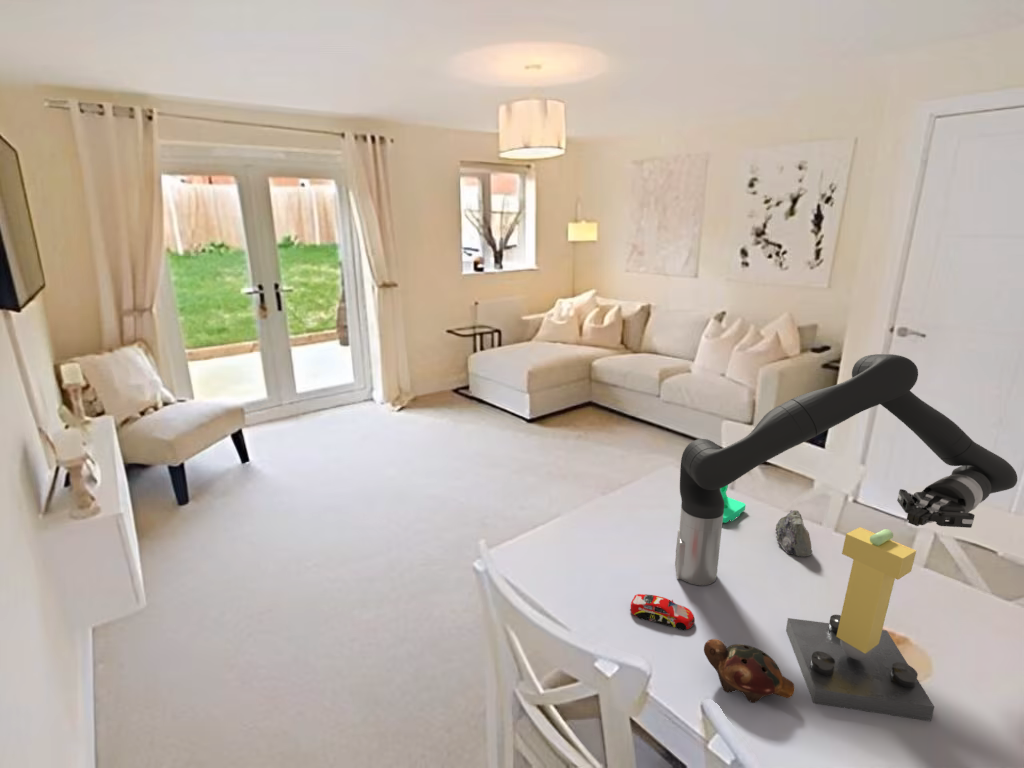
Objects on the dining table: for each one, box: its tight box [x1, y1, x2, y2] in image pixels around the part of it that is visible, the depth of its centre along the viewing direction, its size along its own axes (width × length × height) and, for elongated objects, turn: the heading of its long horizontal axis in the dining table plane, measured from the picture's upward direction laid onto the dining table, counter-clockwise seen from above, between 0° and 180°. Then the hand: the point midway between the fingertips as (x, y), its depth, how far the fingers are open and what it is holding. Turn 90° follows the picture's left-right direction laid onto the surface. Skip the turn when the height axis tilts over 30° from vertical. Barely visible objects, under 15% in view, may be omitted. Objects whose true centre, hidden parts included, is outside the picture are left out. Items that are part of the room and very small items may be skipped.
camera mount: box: [720, 484, 747, 523], centre depth 155 cm, size 12×8×10 cm, turn 131°
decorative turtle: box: [703, 638, 795, 704], centre depth 96 cm, size 10×15×8 cm, turn 68°
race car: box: [629, 593, 696, 631], centre depth 115 cm, size 13×5×4 cm, turn 65°
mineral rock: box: [775, 509, 813, 558], centre depth 140 cm, size 13×11×10 cm
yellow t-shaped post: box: [836, 526, 917, 660], centre depth 97 cm, size 5×9×25 cm, turn 33°
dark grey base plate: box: [785, 614, 935, 722], centre depth 100 cm, size 18×18×5 cm
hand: (913, 520), depth 101 cm, fingers closed
